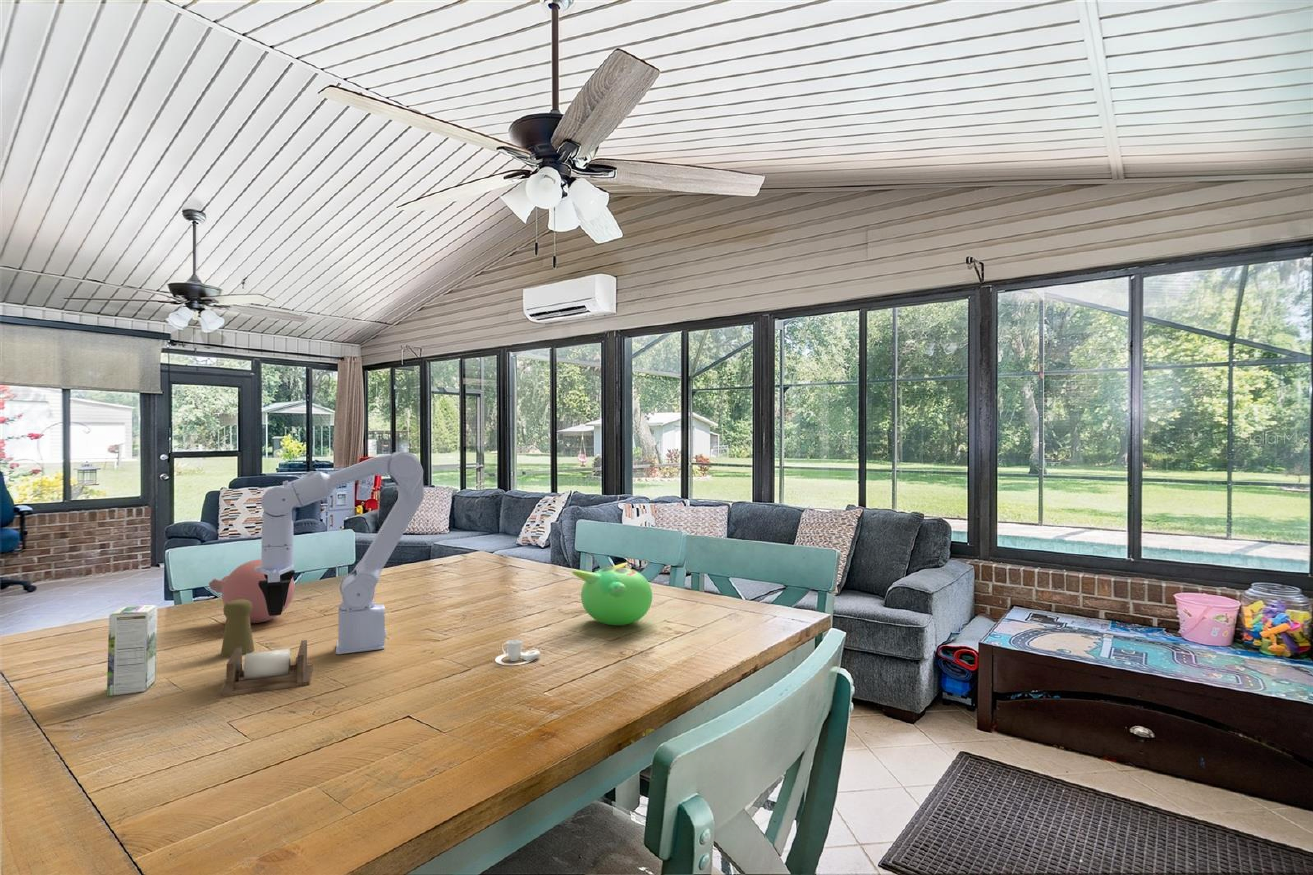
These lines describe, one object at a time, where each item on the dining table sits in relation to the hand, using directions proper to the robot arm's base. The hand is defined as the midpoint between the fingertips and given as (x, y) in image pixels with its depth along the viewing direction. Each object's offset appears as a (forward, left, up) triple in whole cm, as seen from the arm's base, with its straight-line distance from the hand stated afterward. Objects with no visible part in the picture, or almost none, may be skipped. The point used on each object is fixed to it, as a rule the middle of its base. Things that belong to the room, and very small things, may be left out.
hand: (277, 610), depth 135 cm
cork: (+8, -8, -10) cm, 15 cm away
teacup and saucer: (-45, +24, -11) cm, 52 cm away
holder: (0, +14, -10) cm, 17 cm away
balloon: (+9, -34, -10) cm, 37 cm away
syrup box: (+22, +8, -10) cm, 25 cm away
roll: (0, +14, -9) cm, 17 cm away
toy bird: (-73, +5, -10) cm, 74 cm away
